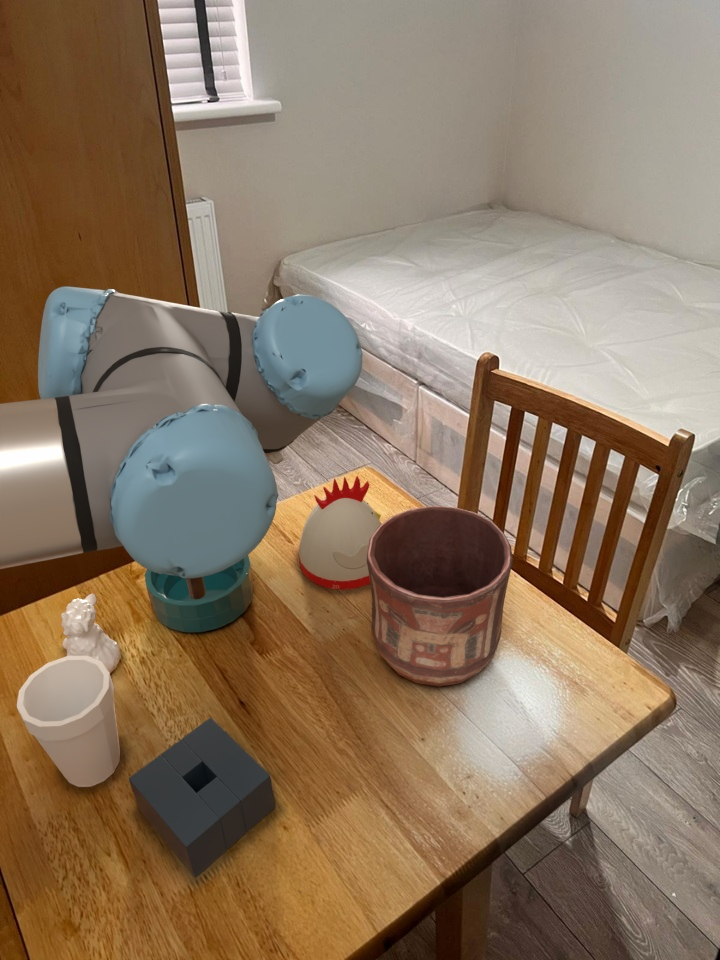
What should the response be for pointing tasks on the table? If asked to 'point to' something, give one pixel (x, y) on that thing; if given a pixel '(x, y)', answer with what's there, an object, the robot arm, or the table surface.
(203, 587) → the brown rod
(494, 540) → the pottery
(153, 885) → the table surface
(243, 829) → the holder
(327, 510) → the kitchen timer
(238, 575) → the bowl
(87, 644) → the white creature statuette
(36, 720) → the foam cup
